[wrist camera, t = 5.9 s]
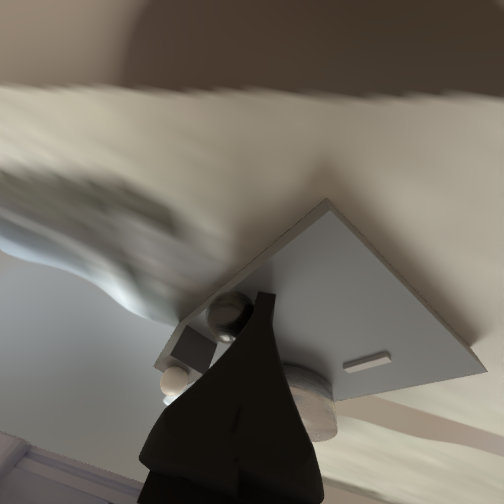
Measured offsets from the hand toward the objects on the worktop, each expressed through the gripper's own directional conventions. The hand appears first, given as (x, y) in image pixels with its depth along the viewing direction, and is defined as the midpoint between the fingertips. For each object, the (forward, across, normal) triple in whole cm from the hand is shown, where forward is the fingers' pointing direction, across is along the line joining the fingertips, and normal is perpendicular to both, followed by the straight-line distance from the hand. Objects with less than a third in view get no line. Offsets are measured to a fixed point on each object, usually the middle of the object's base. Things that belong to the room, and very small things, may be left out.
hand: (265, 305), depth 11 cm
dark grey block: (+1, +6, +6) cm, 9 cm away
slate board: (+2, -3, +5) cm, 6 cm away
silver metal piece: (0, -1, +6) cm, 6 cm away
